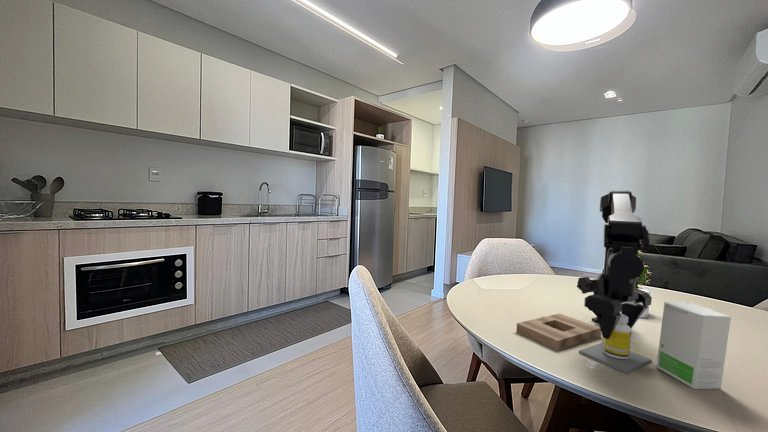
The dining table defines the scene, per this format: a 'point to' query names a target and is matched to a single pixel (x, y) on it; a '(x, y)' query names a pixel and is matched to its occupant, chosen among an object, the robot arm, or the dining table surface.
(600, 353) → the rubber mat
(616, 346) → the supplement bottle
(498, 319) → the dining table surface
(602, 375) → the dining table surface
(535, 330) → the wooden block with hole
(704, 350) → the skincare box
